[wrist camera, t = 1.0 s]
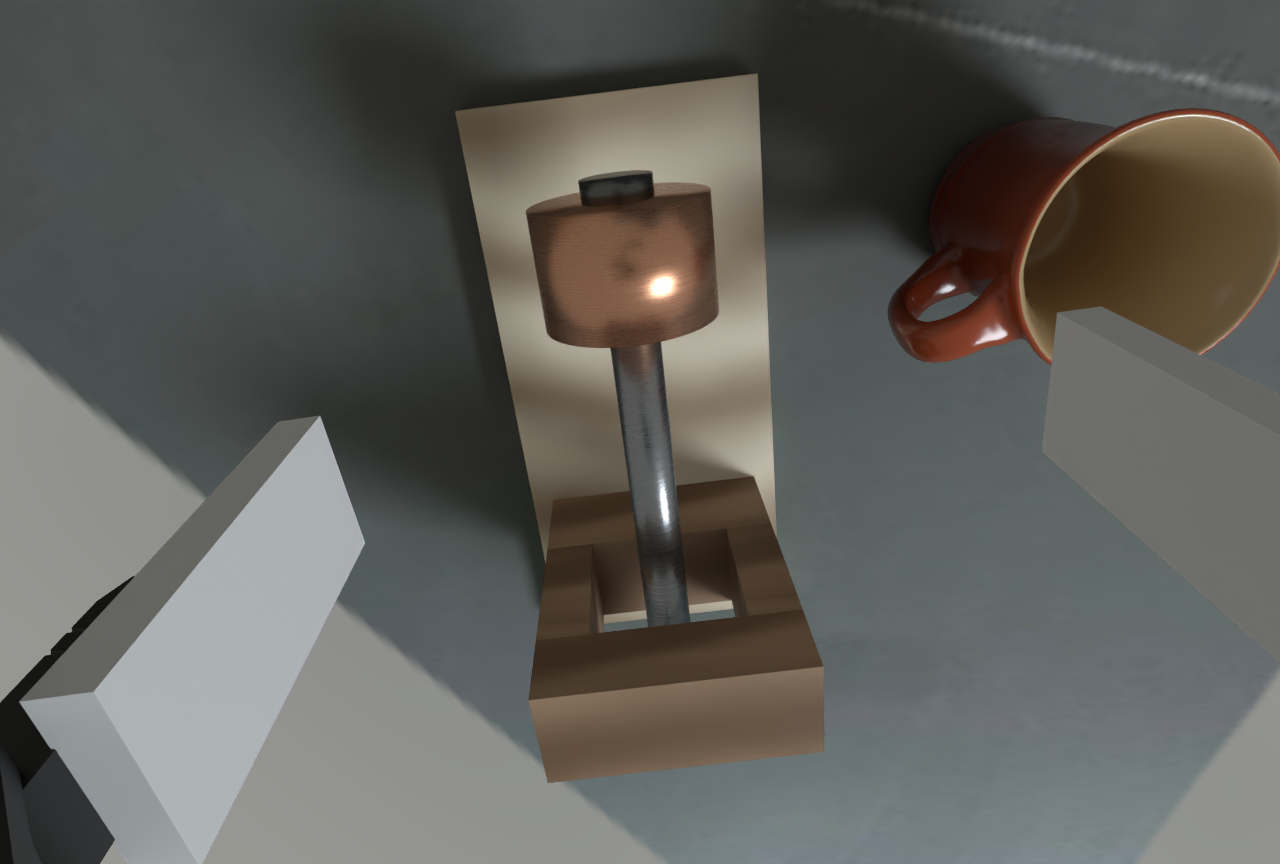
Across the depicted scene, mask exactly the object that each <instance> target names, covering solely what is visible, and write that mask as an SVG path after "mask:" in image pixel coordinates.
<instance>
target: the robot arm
mask: <svg viewBox="0 0 1280 864" xmlns="http://www.w3.org/2000/svg"><path fill="white" fill-rule="evenodd" d="M1042 452H1043V453H1044V454H1045V455H1046V456H1048V457H1049V458H1050V459H1051V460H1052V461H1053V462H1054V463H1055V464H1057V465H1058V466H1059V467H1060V468H1061V469H1062V470H1063V471H1064V472H1065V473H1067V474H1068V475H1069V476H1070V477H1071V478H1072V479H1073V480H1074V481H1076V482H1077V483H1078V484H1079V485H1080V486H1081V487H1082V488H1083V489H1085V490H1086V491H1087V492H1088V493H1089V494H1090V495H1091V496H1092V497H1094V498H1095V499H1096V500H1097V501H1098V502H1099V503H1100V504H1101V505H1103V506H1104V507H1105V508H1106V509H1107V510H1108V511H1109V512H1110V513H1112V514H1113V515H1114V516H1115V517H1116V518H1117V519H1118V520H1119V521H1121V522H1122V523H1123V524H1124V525H1125V526H1126V527H1127V528H1128V529H1129V530H1131V531H1132V532H1133V533H1134V534H1135V535H1136V536H1137V537H1138V538H1140V539H1141V540H1142V541H1143V542H1144V543H1145V544H1146V545H1147V546H1149V547H1150V548H1151V549H1152V550H1153V551H1154V552H1155V553H1156V554H1158V555H1159V556H1160V557H1161V558H1162V559H1163V560H1164V561H1165V562H1167V563H1168V564H1169V565H1170V566H1171V567H1172V568H1173V569H1174V570H1176V571H1177V572H1178V573H1179V574H1180V575H1181V576H1182V577H1183V578H1185V579H1186V580H1187V581H1188V582H1189V583H1190V584H1191V585H1192V586H1194V587H1195V588H1196V589H1197V590H1198V591H1199V592H1200V593H1201V594H1202V595H1204V596H1205V597H1206V598H1207V599H1208V600H1209V601H1210V602H1211V603H1213V604H1214V605H1215V606H1216V607H1217V608H1218V609H1219V610H1220V611H1222V612H1223V613H1224V614H1225V615H1226V616H1227V617H1228V618H1229V619H1231V620H1232V621H1233V622H1234V623H1235V624H1236V625H1237V626H1238V627H1240V628H1241V629H1242V630H1243V631H1244V632H1245V633H1246V634H1247V635H1249V636H1250V637H1251V638H1252V639H1253V640H1254V641H1255V642H1256V643H1258V644H1259V645H1260V646H1261V647H1262V648H1263V649H1264V650H1265V651H1266V652H1268V653H1269V654H1270V655H1271V656H1272V657H1273V658H1274V659H1275V660H1277V661H1278V662H1279V663H1280V394H1279V393H1277V392H1275V391H1273V390H1271V389H1269V388H1267V387H1265V386H1263V385H1261V384H1259V383H1257V382H1255V381H1253V380H1251V379H1249V378H1247V377H1245V376H1243V375H1241V374H1239V373H1236V372H1234V371H1232V370H1230V369H1228V368H1226V367H1224V366H1222V365H1220V364H1218V363H1216V362H1214V361H1212V360H1210V359H1208V358H1206V357H1204V356H1202V355H1200V354H1198V353H1196V352H1194V351H1192V350H1189V349H1187V348H1185V347H1183V346H1181V345H1179V344H1177V343H1175V342H1173V341H1171V340H1169V339H1167V338H1165V337H1163V336H1161V335H1159V334H1157V333H1155V332H1153V331H1151V330H1149V329H1147V328H1144V327H1142V326H1140V325H1138V324H1136V323H1134V322H1132V321H1130V320H1128V319H1126V318H1124V317H1122V316H1120V315H1118V314H1116V313H1114V312H1112V311H1110V310H1108V309H1106V308H1104V307H1102V306H1100V307H1093V308H1086V309H1079V310H1072V311H1065V312H1058V313H1057V319H1056V328H1055V337H1054V346H1053V355H1052V364H1051V373H1050V382H1049V391H1048V400H1047V409H1046V418H1045V427H1044V436H1043V445H1042ZM364 544H365V542H364V539H363V536H362V533H361V530H360V527H359V525H358V522H357V519H356V516H355V513H354V511H353V508H352V505H351V502H350V499H349V496H348V494H347V491H346V488H345V485H344V482H343V479H342V477H341V474H340V471H339V468H338V465H337V462H336V460H335V457H334V454H333V451H332V448H331V445H330V443H329V440H328V437H327V434H326V431H325V428H324V426H323V423H322V420H321V417H320V416H315V417H307V418H300V419H293V420H286V421H279V422H277V423H276V424H275V425H274V427H273V428H272V429H271V430H270V431H269V432H268V433H267V434H266V435H265V436H264V437H263V438H262V440H261V441H260V442H259V443H258V444H257V445H256V446H255V447H254V448H253V449H252V450H251V451H250V453H249V454H248V455H247V456H246V457H245V458H244V459H243V460H242V461H241V462H240V463H239V464H238V466H237V467H236V468H235V469H234V470H233V471H232V472H231V473H230V474H229V475H228V476H227V477H226V478H225V480H224V481H223V482H222V483H221V484H220V485H219V486H218V487H217V488H216V489H215V490H214V491H213V493H212V494H211V495H210V496H209V497H208V498H207V499H206V500H205V501H204V502H203V503H202V505H201V506H200V507H199V508H198V509H197V510H196V511H195V512H194V513H193V514H192V515H191V516H190V517H189V519H188V520H187V521H186V522H185V523H184V524H183V525H182V526H181V527H180V528H179V529H178V530H177V532H176V533H175V534H174V535H173V536H172V537H171V538H170V539H169V540H168V541H167V543H165V544H164V546H163V547H162V548H161V549H160V550H159V551H158V552H157V553H156V554H155V555H154V556H153V557H152V559H151V560H150V561H149V562H148V563H147V564H146V565H145V566H144V567H143V568H142V569H141V571H140V572H139V573H138V574H137V575H136V576H133V577H131V578H130V579H128V580H127V581H125V582H124V583H122V584H121V585H120V586H118V587H117V588H115V589H114V590H112V591H111V592H110V593H108V594H107V595H105V596H104V597H102V598H101V599H99V600H98V601H97V602H96V603H95V604H94V605H93V606H92V607H91V608H90V609H89V610H88V611H87V612H86V613H85V614H84V615H83V616H82V617H81V618H80V619H79V621H78V622H77V623H76V624H75V625H74V626H73V627H72V632H71V633H66V634H65V635H64V636H63V637H62V638H61V639H60V640H59V642H58V643H57V644H56V645H55V646H54V647H53V648H52V649H51V655H46V656H44V657H43V658H42V660H40V661H39V663H38V664H37V665H36V666H35V667H34V668H33V669H32V670H31V671H30V672H29V673H28V674H27V675H26V676H25V677H24V678H23V679H22V680H21V681H20V683H19V684H18V685H17V686H16V687H15V688H14V689H13V690H12V691H11V692H10V693H9V694H8V695H7V696H6V697H5V698H4V699H3V700H2V701H1V703H0V864H100V863H101V861H102V859H103V858H104V856H105V855H106V853H107V852H108V850H109V848H110V847H111V845H112V844H113V843H114V845H115V846H116V848H117V849H118V850H119V852H120V854H121V855H122V857H123V858H124V860H125V861H126V862H127V864H202V863H203V861H204V859H205V857H206V855H207V853H208V851H209V849H210V848H211V845H212V844H213V841H214V840H215V838H216V836H217V833H218V832H219V830H220V828H221V826H222V824H223V822H224V820H225V818H226V816H227V814H228V812H229V810H230V808H231V806H232V804H233V802H234V800H235V798H236V796H237V794H238V792H239V790H240V788H241V786H242V784H243V782H244V781H245V778H246V777H247V775H248V773H249V771H250V769H251V767H252V764H253V763H254V761H255V759H256V756H257V755H258V753H259V751H260V749H261V747H262V745H263V743H264V741H265V739H266V737H267V735H268V733H269V731H270V729H271V727H272V725H273V723H274V721H275V720H276V718H277V716H278V714H279V712H280V710H281V708H282V706H283V704H284V702H285V700H286V698H287V696H288V694H289V692H290V690H291V688H292V686H293V684H294V682H295V680H296V678H297V676H298V674H299V672H300V670H301V668H302V666H303V664H304V662H305V660H306V658H307V656H308V654H309V653H310V651H311V649H312V647H313V645H314V643H315V641H316V639H317V637H318V635H319V633H320V631H321V629H322V627H323V625H324V623H325V621H326V619H327V617H328V615H329V613H330V611H331V609H332V607H333V605H334V603H335V601H336V599H337V597H338V595H339V593H340V592H341V590H342V588H343V586H344V584H345V582H346V580H347V578H348V576H349V574H350V572H351V570H352V568H353V566H354V564H355V562H356V560H357V558H358V556H359V554H360V552H361V550H362V548H363V546H364Z"/></svg>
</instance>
